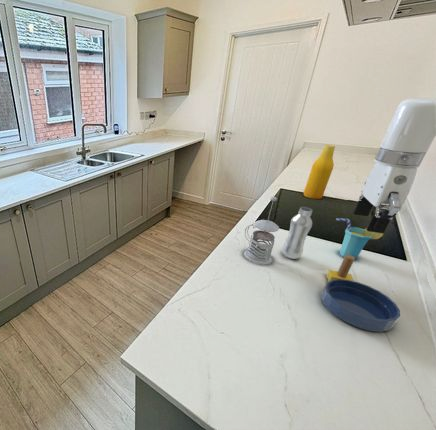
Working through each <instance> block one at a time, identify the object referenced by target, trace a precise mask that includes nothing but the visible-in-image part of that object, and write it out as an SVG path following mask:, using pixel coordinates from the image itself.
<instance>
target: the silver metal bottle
mask: <svg viewBox="0 0 436 430" xmlns="http://www.w3.org/2000/svg"><path fill="white" fill-rule="evenodd" d="M312 214H313V209H312V208H310V207H307V206H300V207H299V210H298V212H297V214H296V215H294V216H293V217H292V218H291V219H290V225H289V230H288V235H287V237H286V239H285V242H284V243H283V245H282V246H281V253H282V254H283V256H285V257H286V258H289V259H292V260H298V259H299V258H301V257H302V255H303V252H304V246H305V241H306V238H307V237H308V236H307V235H308V234H309V232H310V231H311V228H312V227H313V220H312V218H311V216H312Z"/></svg>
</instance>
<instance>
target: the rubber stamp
mask: <svg viewBox="0 0 436 430" xmlns="http://www.w3.org/2000/svg"><path fill="white" fill-rule="evenodd" d="M354 261H356V260H355V257H353V256H351V255H345V257H343V259H342V262H341V264H340V266H339V268H338V270H332V269H328V271H327V273H326V277H327V282H329V281H330V280H335V279H345V280H351V281H355V279H354V277H353V276H352V274H350V273H349V272H350V271H351V268H352V265H353V264H354Z"/></svg>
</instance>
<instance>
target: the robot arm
mask: <svg viewBox="0 0 436 430" xmlns="http://www.w3.org/2000/svg"><path fill="white" fill-rule="evenodd" d="M435 137H436V98H430V97H429V98H428V97H427V98H425V97H423V98H422V97H421V98H420V97H417V98H416V97H415V98H407V99H404V100H402V101H401V102H400V103H399V104H398V106H397V107H396V109H395V112H394V114H393V115H392V118H391V121H390V123H389V126H388V128H387V129H386V132H385V134H384V137H383V139H382V141H381V144H380V146H379V148H378V151H377V153H376V155H375V158H374V159H373V162H375V163H374V165H373V167H372V169H371V170H370V172H369V174H368V175H367V178H366V180H365V182H364V185H363V188H362V190H361V194H360V196H359V197H358V201H357V203H356V205H355V208H354V209H353V212H352V214H354V215H355V216H363V217H368V216H370V213H371V212H372V209H373V208H374V207H375V211H374V213H375V214H374V215H372V216H371V218H370V220H369V223H368V224H367V226H366V228H365V229H366V230H367V231H370V232H376V233H383V234H384V233H385V232H386V230H387V228H388V225H390V222H391V221H392V220H393V219H394V217H395V216H397V213H398V212H400V211H401V209H402V208H403V206H404V204H405V203H406V200H407V198H408V196H409V193H410V191H411V189H412V186H413V184H414V182H415V179H416V176H417V171H418V168H420V166H421V164H422V163H423V160H424V158H425V156H426V155H427V152H428V151H429V149H430V147H431V145H432V143H433V141H434V139H435ZM382 209H383V211H382Z"/></svg>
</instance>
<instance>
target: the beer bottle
mask: <svg viewBox="0 0 436 430" xmlns="http://www.w3.org/2000/svg"><path fill="white" fill-rule="evenodd" d="M335 149H336V146H335V145H333V144H325V145H324V147H323V149H322V151H321V153H320V155H319V157H318V158H317V159H316V160H314V162H313V164H312V166H311V169H310V172H309V176H308V179H307V181H306V184H305V186H304V190H303V196H304V197H305V198H309V199H311V200H320V199H322V198H323V197H324V194H325V192H326V188H327V185H328V183H329V180H330V178H331V175H332V173H333V169H334V165H335V164H334V153H335Z"/></svg>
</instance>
